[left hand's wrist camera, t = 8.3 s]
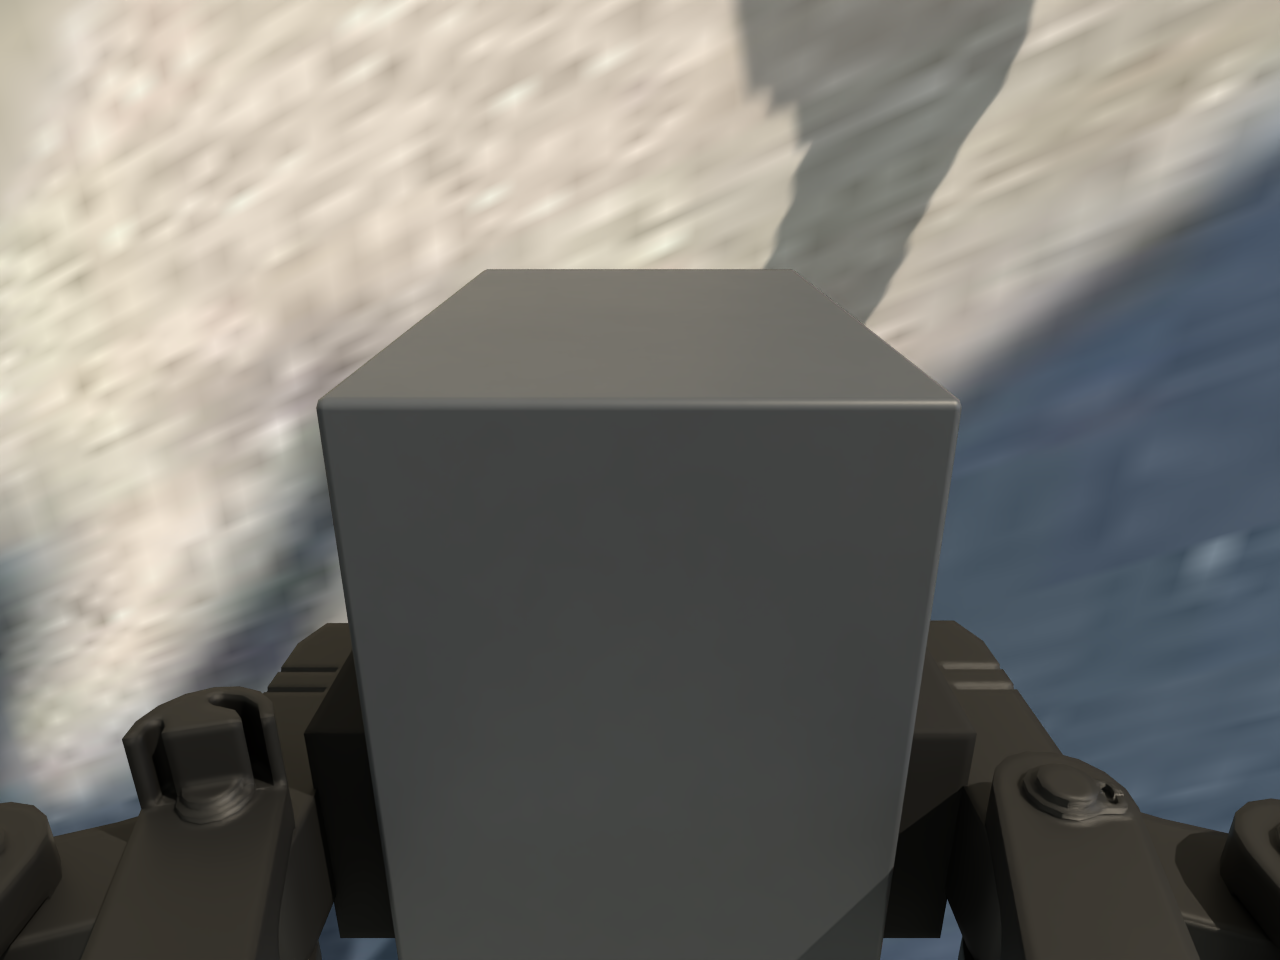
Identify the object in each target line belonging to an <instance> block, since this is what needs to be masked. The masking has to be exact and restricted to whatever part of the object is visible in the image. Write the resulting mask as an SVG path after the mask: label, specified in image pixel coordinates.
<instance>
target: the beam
mask: <svg viewBox="0 0 1280 960" xmlns="http://www.w3.org/2000/svg"><path fill="white" fill-rule="evenodd" d="M316 409H317V416H318V423H319V429H320V436H321V443H322V449H323V456H324V463H325V470H326V476H327V483H328V490H329V496H330V503H331V510H332V517H333V523H334V530H335V537H336V543H337V550H338V557H339V564H340V570H341V577H342V584H343V590H344V597H345V604H346V611H347V617H348V624H349V631H350V637H351V644H352V651H353V658H354V664H355V671H356V678H357V684H358V691H359V698H360V705H361V711H362V718H363V725H364V731H365V738H366V745H367V752H368V758H369V765H370V772H371V778H372V785H373V792H374V799H375V805H376V812H377V819H378V825H379V832H380V839H381V846H382V852H383V859H384V866H385V872H386V879H387V886H388V893H389V899H390V906H391V913H392V919H393V926H394V933H395V940H396V946H397V953H398V960H880V955H881V949H882V942H883V935H884V928H885V922H886V915H887V908H888V901H889V895H890V888H891V881H892V874H893V868H894V861H895V854H896V847H897V841H898V834H899V827H900V820H901V814H902V807H903V800H904V794H905V787H906V780H907V773H908V767H909V760H910V753H911V746H912V740H913V733H914V726H915V719H916V713H917V706H918V699H919V692H920V686H921V679H922V672H923V665H924V659H925V652H926V645H927V638H928V632H929V625H930V618H931V611H932V605H933V598H934V591H935V584H936V578H937V571H938V564H939V557H940V551H941V544H942V537H943V530H944V524H945V517H946V510H947V503H948V497H949V490H950V483H951V476H952V470H953V463H954V456H955V449H956V443H957V436H958V429H959V422H960V416H961V409H962V407H961V404H960V400H959V399H957V398H956V397H955V396H954V395H952V394H951V393H950V392H949V391H947V390H946V389H945V388H943V387H942V386H941V385H940V384H938V383H937V382H936V381H935V380H933V379H932V378H931V377H929V376H928V375H927V374H926V373H924V372H923V371H922V370H921V369H919V368H918V367H917V366H915V365H914V364H913V363H912V362H910V361H909V360H908V359H907V358H905V357H904V356H903V355H901V354H900V353H899V352H898V351H896V350H895V349H894V348H893V347H891V346H890V345H889V344H887V343H886V342H885V341H884V340H882V339H881V338H880V337H879V336H877V335H876V334H875V333H873V332H872V331H871V330H870V329H868V328H867V327H866V326H865V325H863V324H862V323H861V322H859V321H858V320H857V319H856V318H854V317H853V316H852V315H851V314H849V313H848V312H847V311H845V310H844V309H843V308H842V307H840V306H839V305H838V304H837V303H835V302H834V301H833V300H831V299H830V298H829V297H828V296H826V295H825V294H824V293H822V292H821V291H820V290H819V289H817V288H816V287H815V286H814V285H812V284H811V283H810V282H808V281H807V280H806V279H805V278H803V277H802V276H801V275H800V274H798V273H797V272H796V271H794V270H792V269H487V270H485V271H483V272H482V273H480V274H479V275H478V276H477V277H475V278H474V279H473V280H471V281H470V282H469V283H468V284H466V285H465V286H464V287H462V288H461V289H460V290H459V291H457V292H456V293H455V294H454V295H452V296H451V297H450V298H448V299H447V300H446V301H445V302H443V303H442V304H441V305H439V306H438V307H437V308H436V309H434V310H433V311H432V312H430V313H429V314H428V315H427V316H425V317H424V318H423V319H422V320H420V321H419V322H418V323H416V324H415V325H414V326H413V327H411V328H410V329H409V330H407V331H406V332H405V333H404V334H402V335H401V336H400V337H399V338H397V339H396V340H395V341H393V342H392V343H391V344H390V345H388V346H387V347H386V348H384V349H383V350H382V351H381V352H379V353H378V354H377V355H375V356H374V357H373V358H372V359H370V360H369V361H368V362H367V363H365V364H364V365H363V366H361V367H360V368H359V369H358V370H356V371H355V372H354V373H352V374H351V375H350V376H349V377H347V378H346V379H345V380H344V381H342V382H341V383H340V384H338V385H337V386H336V387H335V388H333V389H332V390H331V391H329V392H328V393H327V394H326V395H324V396H323V397H322V398H320V399H319V400H318V403H317V407H316Z"/></svg>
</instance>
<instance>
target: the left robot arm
mask: <svg viewBox="0 0 1280 960" xmlns="http://www.w3.org/2000/svg"><path fill="white" fill-rule="evenodd" d="M122 741H123V745H124V748H125V752H126V755H127V759H128V763H129V766H130V770H131V773H132V777H133V781H134V784H135V788H136V791H137V795H138V799H139V802H140V806H141V811H140V814H139V816H138V817H134V818H131V819H127V820H124V821H121V822H117V823H113V824H108V825H104V826H99V827H95V828H90V829H86V830H81V831H77V832H72V833H68V834H64V835H59V836H55V837H53V834H52V831H51V828H50V825H49V822H48V819H47V816H46V815H45V814H43V813H42V812H41V811H40V810H39V809H37V808H36V807H35V806H34V805H27V804H21V803H14V802H7V803H0V960H322V957H321V951H320V946H319V941H318V939H319V936H320V934H321V932H322V929H323V927H324V924H325V922H326V919H327V917H328V914H329V912H330V910H331V907H332V905H333V902H334V905H335V910H336V916H337V921H338V927H339V932H340V938H395V933H394V926H393V919H392V913H391V906H390V899H389V893H388V886H387V879H386V872H385V866H384V859H383V852H382V846H381V839H380V832H379V825H378V819H377V812H376V805H375V799H374V792H373V785H372V778H371V772H370V765H369V758H368V752H367V745H366V738H365V731H364V725H363V718H362V711H361V705H360V698H359V691H358V684H357V678H356V671H355V664H354V658H353V651H352V644H351V637H350V631H349V624H348V623H327V624H325V625H324V626H322V627H321V628H320V629H318V630H317V631H315V632H314V633H312V634H311V635H310V636H308V637H307V638H305V639H304V640H302V641H301V642H300V643H298V644H297V646H296V647H295V649H294V650H293V651H292V653H291V654H290V656H289V657H288V659H287V660H286V662H285V663H284V664H283V666H282V667H281V672H278V673H277V674H276V676H275V677H274V679H273V680H272V682H271V683H270V685H269V686H268V691H267V692H264V693H261V692H260V691H256V690H252V689H248V688H244V687H240V686H239V687H213V688H209V689H205V690H201V691H196V692H192V693H188V694H185V695H182V696H180V697H178V698H175V699H173V700H171V701H168V702H166V703H164V704H161V705H159V706H157V707H156V708H155V709H153V710H152V711H150V712H149V713H147V714H146V715H145V716H143V717H142V718H140V719H139V720H137V721H136V722H135V723H134V725H133V726H132V727H131V728H130V730H129V731H128V732H127V733H126V735H125V736H124V737H123V738H122ZM947 899H948V902H949V904H950V906H951V909H952V911H953V914H954V916H955V919H956V921H957V923H958V926H959V928H960V931H961V933H962V941H961V946H960V951H959V956H958V960H1280V800H1278V799H1265V800H1258V801H1251V802H1248V803H1246V804H1245V805H1244V806H1243V807H1242V808H1240V809H1239V810H1238V811H1237V812H1236V813H1235V816H1234V819H1233V822H1232V825H1231V828H1230V831H1229V834H1228V833H1224V832H1219V831H1215V830H1210V829H1206V828H1201V827H1197V826H1192V825H1188V824H1184V823H1179V822H1175V821H1170V820H1166V819H1162V818H1158V817H1155V816H1152V815H1148V814H1145V813H1141V812H1140V810H1139V808H1138V806H1137V805H1136V803H1135V802H1134V800H1133V799H1132V797H1131V796H1130V794H1129V793H1128V791H1127V790H1126V789H1125V788H1124V787H1123V786H1121V785H1120V784H1119V783H1118V782H1116V781H1115V780H1114V779H1113V778H1111V777H1110V776H1109V775H1108V774H1106V773H1105V772H1103V771H1101V770H1099V769H1097V768H1095V767H1093V766H1091V765H1089V764H1087V763H1085V762H1083V761H1081V760H1079V759H1076V758H1072V757H1068V756H1064V755H1063V754H1062V753H1061V752H1060V750H1059V749H1058V747H1057V746H1056V744H1055V743H1054V742H1053V740H1052V739H1051V737H1050V736H1049V734H1048V733H1047V732H1046V730H1045V729H1044V727H1043V726H1042V724H1041V723H1040V722H1039V720H1038V719H1037V717H1036V716H1035V714H1034V713H1033V712H1032V710H1031V709H1030V707H1029V706H1028V704H1027V703H1026V702H1025V700H1024V699H1023V697H1022V696H1021V694H1020V693H1019V692H1018V690H1014V687H1013V683H1012V682H1011V680H1010V679H1009V677H1008V676H1007V674H1006V673H1005V672H1004V670H1003V669H1000V664H999V663H998V662H997V660H996V659H995V657H994V656H993V654H992V653H991V652H990V650H989V649H988V647H987V646H986V644H985V643H984V642H983V641H982V640H981V639H979V638H978V637H977V636H975V635H974V634H972V633H971V632H969V631H968V630H967V629H965V628H964V627H962V626H961V625H959V624H958V623H957V622H955V621H930V625H929V632H928V638H927V645H926V652H925V659H924V665H923V672H922V679H921V686H920V692H919V699H918V706H917V713H916V719H915V726H914V733H913V740H912V746H911V753H910V760H909V767H908V773H907V780H906V787H905V794H904V800H903V807H902V814H901V820H900V827H899V834H898V841H897V847H896V854H895V861H894V868H893V874H892V881H891V888H890V895H889V901H888V908H887V915H886V922H885V928H884V935H883V938H940V936H941V930H942V924H943V919H944V913H945V908H946V902H947Z"/></svg>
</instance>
